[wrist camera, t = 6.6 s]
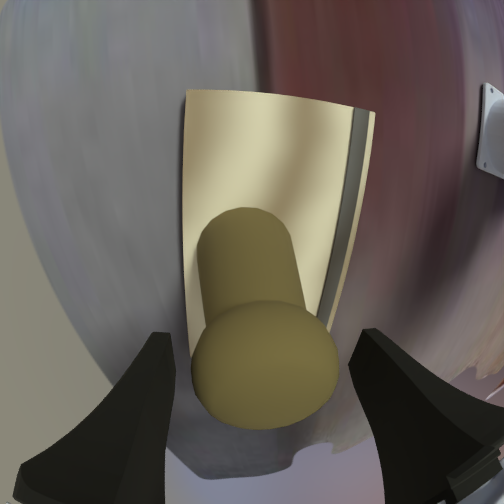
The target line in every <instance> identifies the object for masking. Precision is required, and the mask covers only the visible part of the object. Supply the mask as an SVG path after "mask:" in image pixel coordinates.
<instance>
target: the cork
mask: <svg viewBox="0 0 504 504" xmlns="http://www.w3.org/2000/svg"><path fill="white" fill-rule="evenodd" d="M197 265H198V273H199V281H200V289H201V296H202V304H203V311H204V318H205V324H206V328H205V329H204V330H203V332H202V334H201V336H200V338H199V340H198V343H197V345H196V347H195V350H194V352H193V355H192V361H191V375H192V383H193V387H194V391H195V395H196V396H197V398H198V399H199V400H200V402H201V403H202V405H203V406H204V407H205V409H206V410H207V411H208V413H209V414H210V415H211V416H213V417H214V418H216V419H217V420H219V421H221V422H222V423H225V424H229V425H232V426H235V427H238V428H243V429H253V430H263V429H274V428H279V427H284V426H288V425H291V424H293V423H296V422H298V421H301V420H303V419H305V418H306V417H308V416H310V415H311V414H313V413H314V412H316V411H317V410H319V409H320V408H321V407H322V406H323V405H324V404H325V403H326V402H327V401H328V400H329V399H330V397H331V395H332V393H333V391H334V389H335V387H336V384H337V381H338V377H339V358H338V349H337V347H336V345H335V343H334V341H333V339H332V337H331V335H330V334H329V332H328V330H327V329H326V327H325V325H324V324H323V323H322V322H321V321H320V320H319V319H318V318H317V317H316V316H315V315H313V314H312V313H310V312H309V311H307V310H306V305H305V300H304V295H303V290H302V285H301V281H300V276H299V271H298V267H297V262H296V257H295V253H294V248H293V244H292V239H291V235H290V233H289V232H288V230H287V228H286V227H285V225H284V223H283V222H282V221H280V220H279V219H278V218H277V217H276V216H274V215H273V214H272V213H269V212H267V211H264V210H262V209H259V208H251V207H239V208H235V209H231V210H227V211H224V212H223V213H221V214H220V215H218V216H216V217H215V218H213V219H212V220H211V221H210V222H209V223H208V224H207V226H206V227H205V228H204V229H203V231H202V232H201V235H200V238H199V240H198V243H197Z"/></svg>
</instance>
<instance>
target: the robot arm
mask: <svg viewBox="0 0 504 504" xmlns="http://www.w3.org/2000/svg"><path fill="white" fill-rule="evenodd" d="M476 165H477V168H479V169H481V170H484V171H486V172H488V173H491V174H493V175H495V176H498V177H500V178H502V179H504V94H502V93H501V92H500V91H498V90H497V89H496V88H494V87H493V86H492V85H490V84H489V83H484V84H483V103H482V119H481V131H480V140H479V148H478V155H477V161H476ZM348 366H349V370H350V374H351V378H352V382H353V385H354V388H355V390H356V393H357V395H358V398H359V400H360V403H361V405H362V407H363V410H364V412H365V414H366V417H367V419H368V422H369V424H370V427H371V429H372V432H373V435H374V438H375V442H376V446H377V450H378V454H379V459H380V464H381V469H382V476H383V484H384V492H385V493H384V494H385V504H504V457H503V458H502V459H501V460H500V461H499V460H498V458H497V457H498V456H499V455H500V454H501V452H500V450H499V448H500V447H501V446H502V445H503V444H504V408H503V407H499V406H496V405H493V404H490V403H487V402H484V401H482V400H479V399H477V398H475V397H472V396H471V395H468V394H466V393H464V392H462V391H460V390H459V389H457V388H455V387H453V386H452V385H450V384H448V383H447V382H445V381H444V380H442V379H440V378H439V377H437V376H436V375H435V374H433V373H432V372H430V371H429V370H428V369H426V368H425V367H424V366H422V365H421V364H420V363H418V362H417V361H416V360H415V359H413V358H412V357H411V356H410V355H408V354H407V353H406V352H405V351H404V350H402V349H401V348H400V347H399V346H398V345H396V344H395V343H394V342H393V341H392V340H390V339H389V338H388V337H387V336H385V335H384V334H383V333H382V332H380V331H379V330H377V329H376V328H371V329H363V330H362V332H361V335H360V337H359V340H358V342H357V345H356V347H355V349H354V352H353V354H352V357H351V359H350V361H349V363H348ZM175 376H176V368H175V362H174V355H173V349H172V342H171V335H170V333H163V332H153V333H152V334H151V335H150V336H149V338H148V340H147V341H146V343H145V345H144V346H143V348H142V349H141V351H140V352H139V354H138V355H137V357H136V358H135V360H134V361H133V362H132V364H131V365H130V367H129V368H128V369H127V371H126V372H125V374H124V375H123V376H122V378H121V379H120V380H119V381H118V383H117V384H116V385H115V386H114V387H113V389H112V390H111V391H110V392H109V394H108V395H107V396H106V397H105V398H104V399H103V401H102V402H101V403H100V404H99V405H98V406H97V407H96V408H95V409H94V410H93V411H92V412H91V413H90V414H89V415H88V416H87V417H86V418H85V419H84V420H83V421H82V422H81V423H80V424H78V425H77V426H76V427H75V428H74V429H73V430H72V431H70V432H69V433H68V434H67V435H65V436H64V437H63V438H61V439H60V440H59V441H57V442H56V443H55V444H53V445H52V446H51V447H49V448H48V449H46V450H45V451H43V452H41V453H40V454H38V455H36V456H35V457H33V458H31V459H29V460H28V461H26V462H24V463H23V464H21V466H20V468H19V471H18V474H17V478H16V482H15V487H14V492H13V498H14V499H15V500H16V501H18V502H20V503H22V504H165V449H166V441H167V435H168V429H169V423H170V417H171V411H172V405H173V399H174V392H175ZM6 504H11V503H9V502H6Z"/></svg>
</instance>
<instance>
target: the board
mask: <svg viewBox="0 0 504 504" xmlns="http://www.w3.org/2000/svg"><path fill="white" fill-rule="evenodd" d="M374 120H375V113H374V112H370V111H368V110H364V109H359V108H353V107H349V106H344V105H340V104H335V103H330V102H324V101H319V100H313V99H307V98H300V97H293V96H286V95H278V94H268V93H258V92H246V91H229V90H187V91H186V106H185V123H184V146H183V256H184V279H185V297H186V312H187V326H188V338H189V349H190V357H192V355H193V352H194V350H195V347H196V345H197V343H198V340H199V338H200V336H201V334H202V332H203V330H204V329H205V328H206V324H205V318H204V311H203V304H202V296H201V289H200V281H199V273H198V265H197V243H198V240H199V238H200V235H201V232H202V231H203V229H204V228H205V227H206V226H207V224H208V223H209V222H210V221H211V220H212V219H213V218H215V217H216V216H218V215H220V214H221V213H223V212H224V211H227V210H231V209H235V208H239V207H251V208H259V209H262V210H264V211H267V212H269V213H272V214H273V215H274V216H276V217H277V218H278V219H279V220H280V221H282V222H283V223H284V225H285V227H286V228H287V230H288V232H289V233H290V235H291V239H292V244H293V248H294V253H295V257H296V262H297V267H298V271H299V276H300V281H301V285H302V290H303V295H304V300H305V305H306V310H307V311H309V312H310V313H312V314H313V315H315V316H316V317H317V318H318V319H319V320H320V321H321V322H322V323H323V324H324V325H325V327H326V329H327V330H328V332H330V329H331V326H332V323H333V319H334V316H335V313H336V309H337V306H338V302H339V299H340V295H341V292H342V288H343V284H344V280H345V277H346V273H347V269H348V265H349V261H350V257H351V253H352V248H353V244H354V240H355V235H356V230H357V226H358V221H359V216H360V211H361V206H362V201H363V195H364V190H365V184H366V178H367V172H368V166H369V159H370V152H371V145H372V137H373V129H374Z"/></svg>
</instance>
